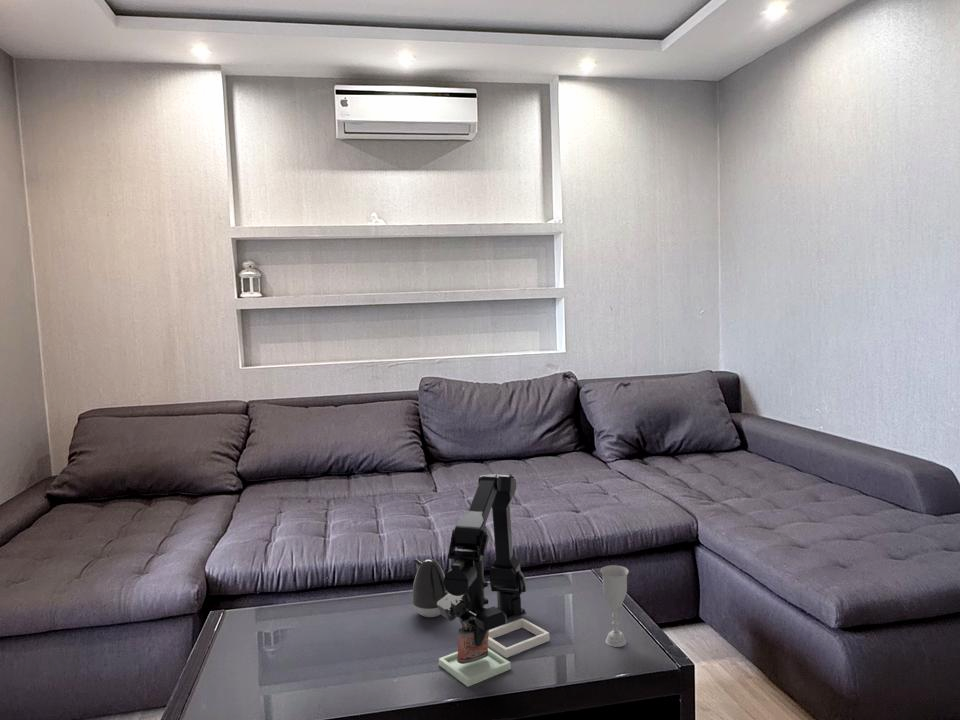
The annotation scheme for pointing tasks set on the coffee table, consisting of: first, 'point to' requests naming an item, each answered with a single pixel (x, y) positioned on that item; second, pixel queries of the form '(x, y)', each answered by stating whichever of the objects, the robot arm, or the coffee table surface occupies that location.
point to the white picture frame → (540, 638)
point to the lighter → (470, 645)
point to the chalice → (615, 598)
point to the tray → (475, 667)
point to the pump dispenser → (428, 587)
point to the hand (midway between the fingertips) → (473, 643)
